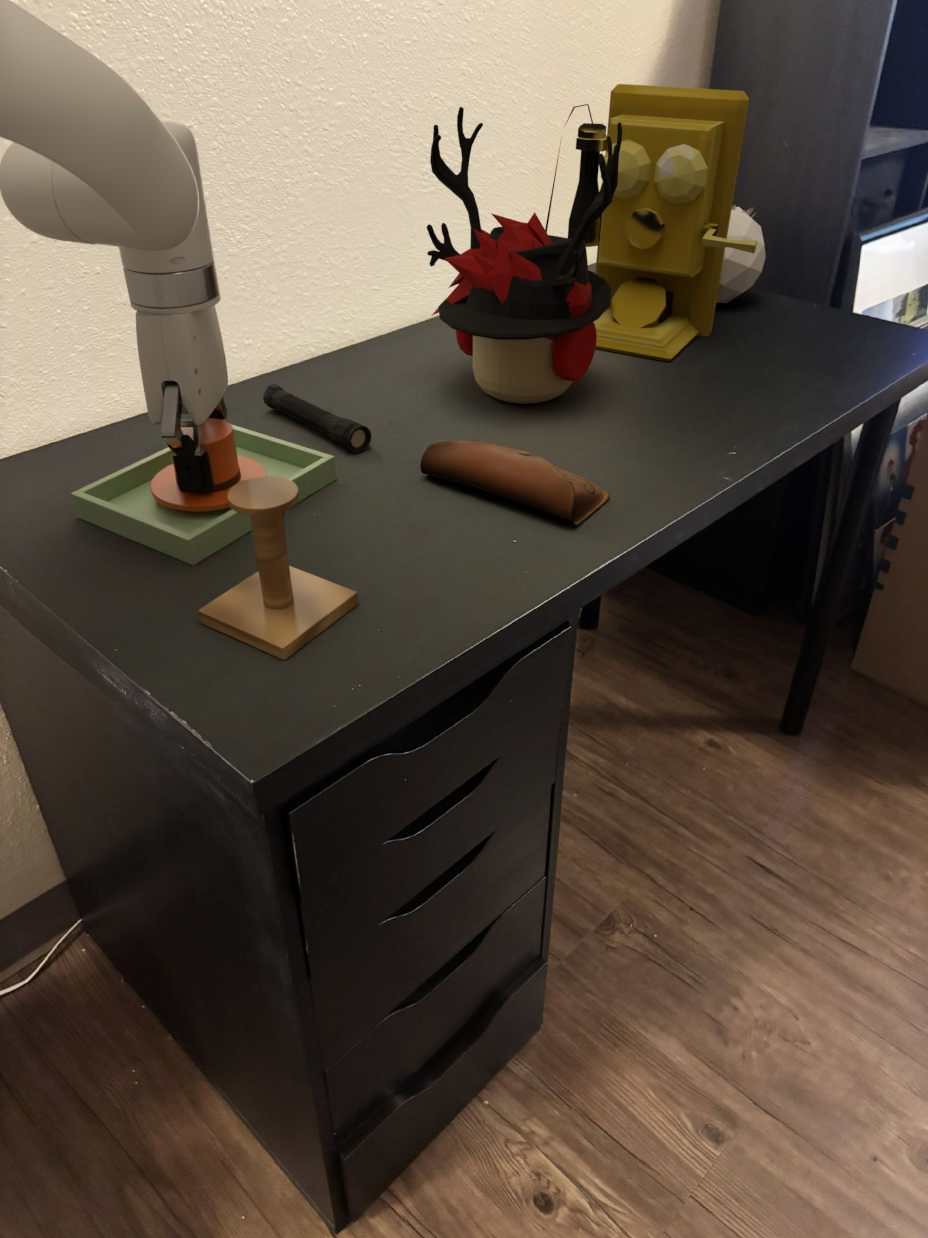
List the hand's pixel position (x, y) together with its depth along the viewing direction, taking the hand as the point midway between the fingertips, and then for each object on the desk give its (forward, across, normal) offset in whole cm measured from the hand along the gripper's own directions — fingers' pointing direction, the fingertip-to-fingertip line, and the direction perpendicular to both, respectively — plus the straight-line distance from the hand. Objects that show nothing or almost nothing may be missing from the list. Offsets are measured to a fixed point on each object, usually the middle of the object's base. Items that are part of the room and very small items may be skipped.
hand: (207, 473), depth 88 cm
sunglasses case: (+3, -4, +30) cm, 30 cm away
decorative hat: (+3, -29, +30) cm, 42 cm away
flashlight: (+3, -16, +7) cm, 18 cm away
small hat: (+1, 0, 0) cm, 1 cm away
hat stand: (+3, +19, +11) cm, 22 cm away
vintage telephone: (+3, -50, +45) cm, 67 cm away
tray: (+3, 0, 0) cm, 3 cm away
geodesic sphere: (+3, -68, +60) cm, 91 cm away
